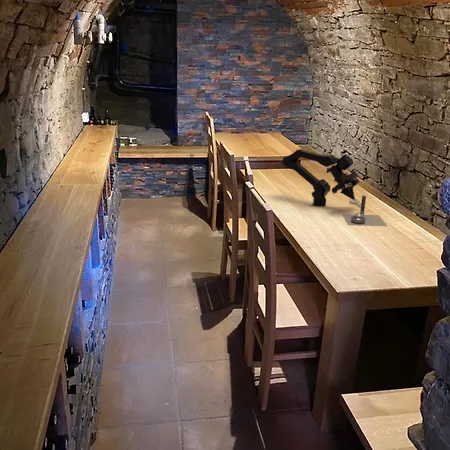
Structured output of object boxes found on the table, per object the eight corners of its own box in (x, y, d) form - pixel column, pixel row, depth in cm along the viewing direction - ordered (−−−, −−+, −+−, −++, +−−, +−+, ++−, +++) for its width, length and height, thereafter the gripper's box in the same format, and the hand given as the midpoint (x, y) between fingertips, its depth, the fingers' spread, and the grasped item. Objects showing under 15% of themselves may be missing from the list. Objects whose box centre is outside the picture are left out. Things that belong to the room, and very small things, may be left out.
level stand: (347, 226, 250) (348, 224, 249) (341, 215, 265) (341, 213, 265) (387, 228, 249) (387, 225, 249) (378, 216, 265) (378, 214, 265)
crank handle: (352, 223, 251) (355, 202, 247) (347, 215, 262) (349, 195, 258) (368, 224, 250) (371, 202, 246) (363, 215, 262) (365, 195, 258)
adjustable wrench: (372, 215, 268) (373, 212, 268) (361, 215, 268) (361, 212, 267) (358, 201, 292) (358, 198, 291) (347, 201, 291) (347, 198, 291)
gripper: (338, 169, 254) (354, 194, 251) (358, 164, 267) (374, 188, 263) (324, 181, 262) (340, 205, 259) (344, 175, 275) (359, 198, 271)
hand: (354, 199), depth 263 cm, fingers closed
